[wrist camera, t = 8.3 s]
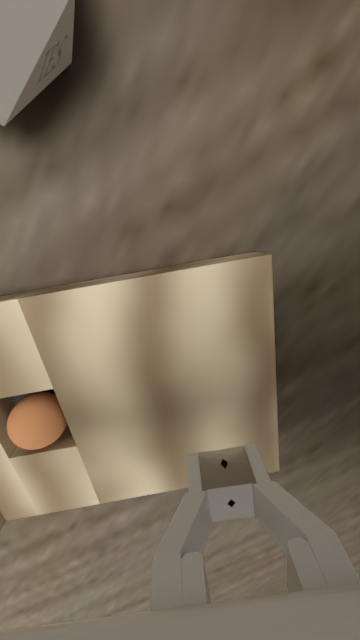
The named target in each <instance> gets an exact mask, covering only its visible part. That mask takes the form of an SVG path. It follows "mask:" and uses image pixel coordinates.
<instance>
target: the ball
mask: <svg viewBox="0 0 360 640" xmlns="http://www.w3.org/2000/svg"><path fill="white" fill-rule="evenodd" d="M66 426H67V421H66V419H65V416H64V414H63V411H62V409H61V406H60V404H59V401H58V399H57V396H56V395H55V394H52V393H48V392H39V393H34V394H31V395H29V396H27V397H25V398H23V399H22V400H21V401H19V402H18V403H17V404H16V405H15V406H14V408H13V409H12V411H11V412H10V415H9V417H8V420H7V433H8V436H9V438H10V439H11V441H12V442H13V443H14V444H15V445H17V446H18V447H20V448H23V449H27V450H36V449H41V448H44V447H46V446H48V445H50V444H52V443H53V442H55V441H56V440H57V439H58V438H59V437H60V436H61V434H62V433H63V432H64V430H65V428H66Z"/></svg>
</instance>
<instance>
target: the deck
mask: <svg viewBox="0 0 360 640" xmlns="http://www.w3.org/2000/svg"><path fill="white" fill-rule="evenodd" d="M39 392H48V393H52V394H55V395H56V396H57V399H58V401H59V404H60V406H61V409H62V411H63V414H64V416H65V419H66V421H67V426H66V428H65V430H64V432H63V433H62V434H61V436H60V437H59V438H58V439H57V440H56V441H55V442H53V443H52V444H50V445H48V446H46V447H44V448H41V449H36V450H27V449H23V448H20V447H18V446H17V445H15V444H14V443H13V442H12V441H11V439H10V438H9V436H8V433H7V420H8V417H9V415H10V412H11V411H12V409H13V408H14V406H15V405H16V404H17V403H18V402H19V401H21V400H22V399H23V398H25V397H27V396H29V395H31V394H34V393H39ZM254 444H255V445H256V446H257V447H258V450H259V452H260V455H261V457H262V460H263V462H264V465H265V467H266V470H267V472H268V473H271V472H276V471H279V444H278V416H277V387H276V359H275V331H274V303H273V275H272V254H268V253H262V252H256V251H254V252H249V253H243V254H237V255H232V256H226V257H220V258H215V259H209V260H203V261H197V262H192V263H186V264H180V265H175V266H169V267H163V268H158V269H152V270H146V271H141V272H135V273H129V274H124V275H118V276H112V277H107V278H101V279H95V280H89V281H84V282H78V283H72V284H67V285H61V286H55V287H50V288H44V289H38V290H33V291H27V292H21V293H16V294H10V295H4V296H0V531H1V529H2V527H3V525H4V523H5V522H6V521H8V520H13V519H19V518H24V517H30V516H35V515H41V514H46V513H52V512H57V511H63V510H68V509H74V508H79V507H84V506H90V505H95V504H101V503H106V502H112V501H117V500H123V499H128V498H134V497H139V496H145V495H150V494H156V493H161V492H167V491H172V490H178V489H183V488H188V480H187V465H186V454H191V453H199V452H207V451H216V450H221V449H227V448H233V447H239V446H248V445H254Z"/></svg>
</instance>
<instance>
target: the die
mask: <svg viewBox="0 0 360 640" xmlns="http://www.w3.org/2000/svg"><path fill="white" fill-rule="evenodd" d="M74 8H75V0H0V125H2V126H5V125H6V124H7V123H8V122H9V121H11V120H12V119H13V118H14V117H15V116H16V115H17V114H18V113H19V112H20V111H21V110H22V109H23V108H24V107H25V106H26V105H27V104H29V103H30V102H31V101H32V100H33V99H34V98H35V97H36V96H37V95H38V94H39V93H40V92H41V91H42V90H43V89H44V88H45V87H47V86H48V85H49V84H50V83H51V82H52V81H53V80H54V79H55V78H56V77H57V76H58V75H59V74H60V73H61V72H62V71H63V70H65V69H66V68H67V67H68V66H69V65H70V64H71V63H72V49H73V29H74Z"/></svg>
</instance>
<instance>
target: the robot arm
mask: <svg viewBox="0 0 360 640" xmlns="http://www.w3.org/2000/svg"><path fill="white" fill-rule="evenodd" d="M186 465H187V480H188V493H186V494H184V496H183V498H182V500H181V502H180V504H179V506H178V508H177V510H176V512H175V514H174V516H173V518H172V520H171V522H170V524H169V526H168V528H167V530H166V532H165V534H164V536H163V538H162V540H161V542H160V544H159V545H158V547H157V549H156V551H155V553H154V555H153V569H152V586H151V603H150V611H145V612H138V613H130V614H123V615H115V616H108V617H100V618H92V619H85V620H77V621H70V622H62V623H54V624H47V625H39V626H32V627H24V628H17V629H9V630H1V631H0V640H360V578H359V576H358V574H357V572H356V570H355V568H354V567H353V565H352V563H351V561H350V559H349V557H348V556H347V554H346V552H345V550H344V548H343V546H342V545H341V543H340V541H339V539H338V537H337V535H336V534H335V532H334V531H333V530H332V529H331V528H330V527H328V526H327V525H326V524H325V523H324V522H323V521H321V520H320V519H319V518H318V517H317V516H316V515H314V514H313V513H312V512H311V511H310V510H309V509H307V508H306V507H305V506H304V505H303V504H301V503H300V502H299V501H298V500H297V499H296V498H294V497H293V496H292V495H291V494H290V493H289V492H287V491H286V490H285V489H284V488H283V487H282V486H280V485H279V484H278V483H277V482H276V481H271V479H270V477H269V474H268V472H267V470H266V467H265V465H264V462H263V460H262V457H261V455H260V452H259V450H258V447H257V446H256V445H255V444H254V445H248V446H239V447H233V448H227V449H221V450H216V451H207V452H199V453H191V454H186ZM246 517H255V518H256V519H257V520H258V522H259V523H260V524H261V525H262V526H263V528H264V529H265V530H266V531H267V532H268V534H269V535H270V536H271V537H272V539H273V540H274V541H275V542H276V543H277V545H278V546H279V547H280V548H281V549H282V551H283V552H284V553H285V554H286V555H287V588H288V591H289V593H282V594H275V595H267V596H259V597H252V598H244V599H237V600H229V601H221V602H214V603H211V597H210V592H209V587H208V582H207V577H206V572H205V567H204V562H203V557H202V555H203V552H204V549H205V546H206V542H207V539H208V536H209V533H210V530H211V527H212V522H218V521H223V520H229V519H236V518H246Z"/></svg>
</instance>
